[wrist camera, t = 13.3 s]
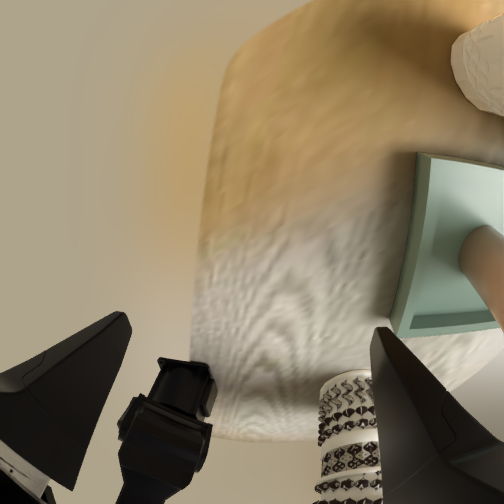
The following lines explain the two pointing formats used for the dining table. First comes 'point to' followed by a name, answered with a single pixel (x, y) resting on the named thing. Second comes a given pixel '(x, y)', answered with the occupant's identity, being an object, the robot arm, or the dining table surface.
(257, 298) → the dining table surface
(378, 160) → the dining table surface
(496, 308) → the peach rounded cone
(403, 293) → the tray
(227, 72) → the dining table surface
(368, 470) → the decorative candle
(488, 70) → the white cup
